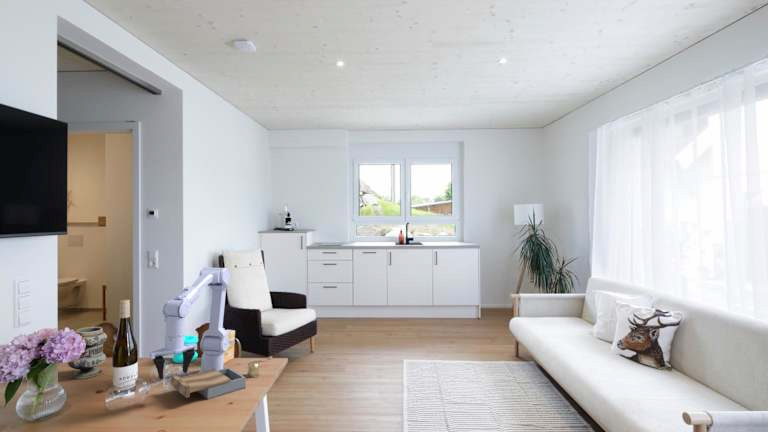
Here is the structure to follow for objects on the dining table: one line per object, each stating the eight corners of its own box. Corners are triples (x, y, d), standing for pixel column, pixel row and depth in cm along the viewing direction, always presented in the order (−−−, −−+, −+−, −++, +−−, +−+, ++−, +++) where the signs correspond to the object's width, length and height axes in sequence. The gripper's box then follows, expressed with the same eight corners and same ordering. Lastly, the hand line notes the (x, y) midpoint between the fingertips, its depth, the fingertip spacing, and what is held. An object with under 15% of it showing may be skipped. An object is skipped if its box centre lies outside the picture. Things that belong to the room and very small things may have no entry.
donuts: (168, 340, 166) (182, 334, 176) (167, 363, 166) (181, 355, 176) (190, 341, 165) (202, 335, 175) (189, 364, 165) (202, 357, 175)
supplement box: (223, 364, 166) (224, 334, 167) (213, 363, 167) (215, 333, 168) (234, 358, 174) (235, 330, 175) (225, 357, 175) (226, 329, 176)
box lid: (170, 384, 137) (171, 375, 137) (214, 373, 149) (214, 364, 149) (185, 397, 127) (186, 387, 127) (230, 384, 139) (231, 375, 139)
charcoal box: (192, 387, 142) (192, 376, 142) (228, 377, 153) (228, 367, 153) (207, 399, 133) (208, 388, 133) (245, 388, 143) (245, 377, 143)
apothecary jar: (101, 377, 149) (104, 331, 149) (62, 382, 144) (65, 334, 144) (108, 367, 160) (110, 324, 160) (72, 371, 154) (74, 326, 155)
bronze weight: (245, 375, 155) (245, 363, 155) (255, 372, 158) (255, 360, 158) (250, 378, 152) (251, 366, 152) (260, 375, 155) (261, 363, 155)
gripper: (155, 342, 122) (153, 384, 122) (201, 333, 133) (199, 372, 132) (148, 337, 127) (146, 378, 126) (193, 329, 138) (191, 367, 137)
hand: (173, 375), depth 130 cm, fingers open, 7 cm apart
